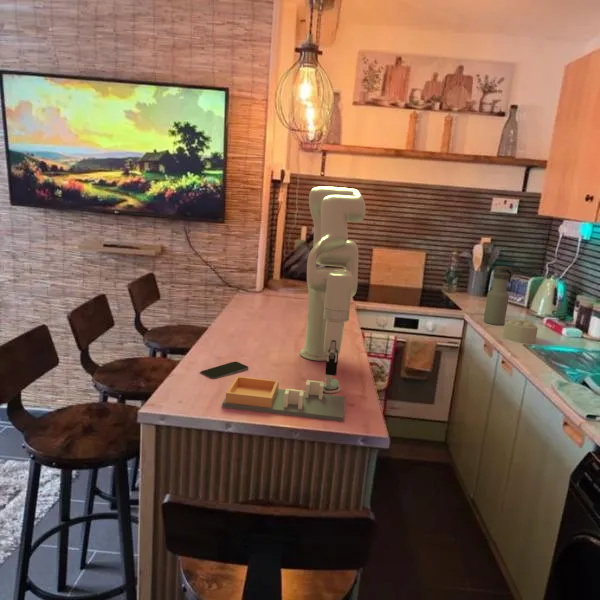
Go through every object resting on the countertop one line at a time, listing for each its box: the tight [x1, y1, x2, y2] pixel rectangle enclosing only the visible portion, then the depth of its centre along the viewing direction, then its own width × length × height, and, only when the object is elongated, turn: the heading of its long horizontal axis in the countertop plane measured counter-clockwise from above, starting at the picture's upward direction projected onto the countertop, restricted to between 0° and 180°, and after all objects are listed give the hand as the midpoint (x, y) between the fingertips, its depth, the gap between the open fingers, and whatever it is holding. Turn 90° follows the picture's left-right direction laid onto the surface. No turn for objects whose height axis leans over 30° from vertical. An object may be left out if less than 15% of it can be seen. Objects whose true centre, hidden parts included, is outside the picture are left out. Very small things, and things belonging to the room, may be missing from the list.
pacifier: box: [323, 373, 342, 394], centre depth 159 cm, size 7×6×6 cm
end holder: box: [225, 375, 280, 408], centre depth 147 cm, size 13×13×3 cm
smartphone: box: [199, 361, 249, 380], centre depth 168 cm, size 7×1×15 cm
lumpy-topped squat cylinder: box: [502, 318, 539, 345], centre depth 229 cm, size 10×13×9 cm
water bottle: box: [483, 265, 514, 326], centre depth 253 cm, size 10×10×28 cm
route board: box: [221, 379, 346, 423], centre depth 146 cm, size 14×33×5 cm, turn 84°
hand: (331, 369), depth 157 cm, fingers open, 9 cm apart
